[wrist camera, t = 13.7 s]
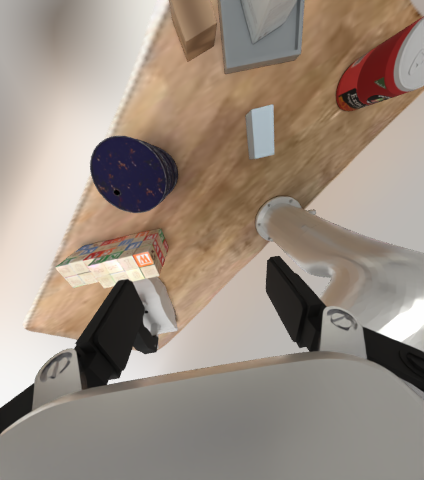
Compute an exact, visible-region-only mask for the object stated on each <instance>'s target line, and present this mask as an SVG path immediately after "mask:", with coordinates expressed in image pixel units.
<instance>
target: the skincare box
mask: <svg viewBox="0 0 424 480" xmlns="http://www.w3.org/2000/svg"><path fill="white" fill-rule="evenodd" d="M296 1H297V0H241V3H242V7H243V10H244V14H245V18H246V22H247V25H248V29H249V32H250V36H251V40H252V43H253V44H254V43H255V42H257V41H258V40H260V39H261V38H263V37H264V36H266V35H267V34H269V33H270V32H272V31H273V30H275V29H276V28H278V27H279V26H281V25H282V24H283V23H284V22H285V21H286V19H287V17H288V15H289V14H290V12H291V10H292V8H293V7H294V5H295V3H296Z"/></svg>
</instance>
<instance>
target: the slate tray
mask: <svg viewBox="0 0 424 480" xmlns="http://www.w3.org/2000/svg"><path fill="white" fill-rule="evenodd" d="M218 9H219V19H220V29H221V40H222V50H223V60H224V70H225V74H228V73H233V72H238V71H243V70H248V69H253V68H258V67H263V66H268V65H273V64H278V63H283V62H288V61H293V60H295V59H296V58H297V57H298V56H299V55H300V54H301V45H302V29H303V14H304V0H297V1H296V3H295V5H294V7H293V8H292V10H291V12H290V14H289V15H288V17H287V19H286V21H285V22H284V23H283V24H282V25H281V26H279V27H278V28H276V29H275V30H273V31H272V32H270V33H269V34H267V35H266V36H264V37H263V38H261V39H260V40H258V41H257V42H255V43H254V44H253V43H252V40H251V36H250V32H249V29H248V25H247V22H246V18H245V14H244V10H243V7H242V3H241V0H218Z"/></svg>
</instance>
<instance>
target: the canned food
mask: <svg viewBox="0 0 424 480" xmlns="http://www.w3.org/2000/svg"><path fill="white" fill-rule="evenodd" d="M422 86H424V16H423V17H422V18H420V19H419V20H417V21H415V22H414V23H412V24H411V25H409V26H408V27H406V28H405V29H403V30H402V31H400V32H399V33H397V34H396V35H394V36H392V37H391V38H389V39H388V40H386V41H385V42H383V43H382V44H380V45H379V46H377V47H376V48H374V49H373V50H371V51H370V52H368V53H367V54H365V55H363V56H362V57H360V58H359V59H357V60H356V61H355V62H354V63H353V64H352V65H351V66H350V67H349V68H348V69H347V70H346V71H345V73H344V74H343V76H342V78H341V80H340V82H339V84H338V88H337V93H336V100H337V104H338V106H339V107H340V108H341V109H342V110H345V111H353V110H356V109H359V108H362V107H365V106H368V105H371V104H374V103H377V102H380V101H383V100H386V99H389V98H392V97H395V96H398V95H401V94H404V93H407V92H410V91H413V90H416V89H418V88H420V87H422Z"/></svg>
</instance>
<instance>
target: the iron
mask: <svg viewBox="0 0 424 480" xmlns="http://www.w3.org/2000/svg"><path fill="white" fill-rule="evenodd" d="M133 284H134V286H135V288H136V290H137V293H138V295H139V297H140V299H141V301H142V303H143V305H144V307H145V313H144V316H143V319H142V322H141V324H140V327H139V330H138V333H137V336H136V339H135V342H134V344H133V347H134V348H135V349H136V350H138V351H140V352H142V353H144V354H148V353H154V352H156V351H157V349H158V334H161V333H167V332H173V331H177V330H178V329H177V324H176V320H175V318H176V316H175V312H174V308H173V305H172V303H171V300H170V298H169V296H168V293H167V290H166V287H165V285H164V284H163V283H162V282H161V280H160V279H159V278H158V277H152V278H147V279H146V278H145V279H142V280H138V281H133Z"/></svg>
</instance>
